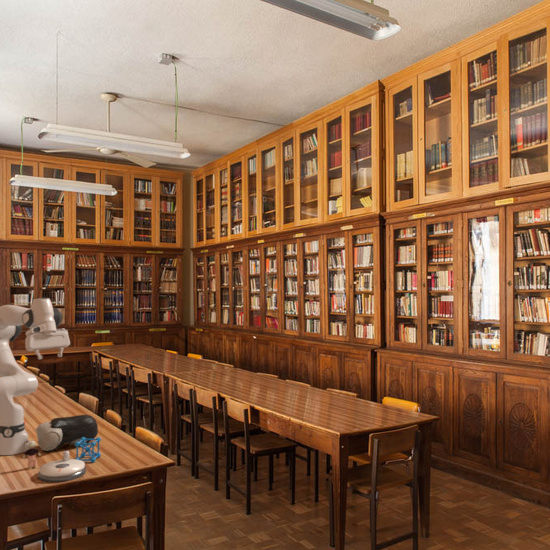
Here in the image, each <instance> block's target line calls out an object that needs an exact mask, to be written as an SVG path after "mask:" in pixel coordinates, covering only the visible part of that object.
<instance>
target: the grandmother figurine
mask: <svg viewBox="0 0 550 550" xmlns="http://www.w3.org/2000/svg"><path fill="white" fill-rule="evenodd" d="M29 441H30V442H29V443H28V447H29V448H30V449H29V450H27V451H25V452H23V456H22V458H23V459H25V458H26V456H27V468H26V469H27V470H29V471H30V470H32V469H37V468H38V464H37V463H38V462H37V455H38V457H41V456H42V454H41V453H40V451H39V450H38V449H37V447H36V442H35V441H34V440H29ZM35 447H36V448H35Z"/></svg>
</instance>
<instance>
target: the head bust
mask: <svg viewBox="0 0 550 550" xmlns="http://www.w3.org/2000/svg"><path fill="white" fill-rule="evenodd" d="M35 433H36V438H37V444H38V446H39V448H40V449H41V450H42V452H43V453H45V452H47V453H50V452H53V451H56V450H57V449H59V448H61V447H63V446H65V445H66V444H68V445H69V446H72V445H73V446H75V443H76V442H79V441H81V438H82V437H85V439H96V438H97V437H98V434H99V426H98V423H97V420H96V419H95V418H94V417H93V416H92V415H90V414H80V415H72V416H65V417H63V416H62V417H54V418H53V419H51V421H45V422H42V423H41V424H39V425H38V426H37V427H36V428H35ZM91 442H93V440H85V443H91ZM81 443H82V442H81Z"/></svg>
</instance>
